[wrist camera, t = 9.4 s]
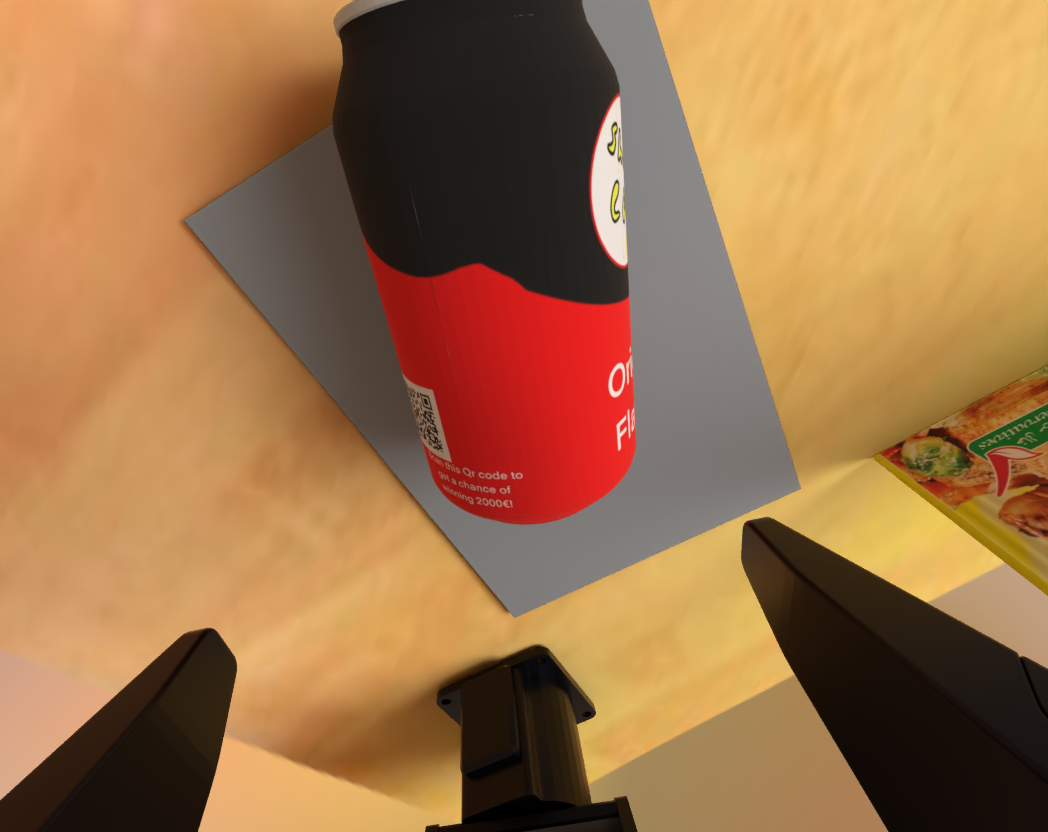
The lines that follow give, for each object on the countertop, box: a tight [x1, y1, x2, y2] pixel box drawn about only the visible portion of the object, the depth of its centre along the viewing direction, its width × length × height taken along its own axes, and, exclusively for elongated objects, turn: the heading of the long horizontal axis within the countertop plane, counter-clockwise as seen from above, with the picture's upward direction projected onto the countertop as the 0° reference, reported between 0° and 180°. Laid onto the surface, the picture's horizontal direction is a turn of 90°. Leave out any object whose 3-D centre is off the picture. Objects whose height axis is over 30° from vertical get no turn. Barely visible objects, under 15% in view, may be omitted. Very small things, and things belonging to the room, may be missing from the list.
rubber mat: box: [184, 0, 801, 618], centre depth 18 cm, size 20×14×1 cm
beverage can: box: [332, 0, 636, 525], centre depth 13 cm, size 6×6×12 cm
